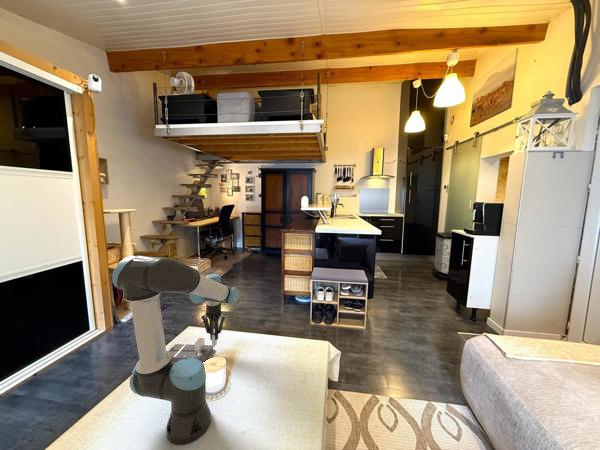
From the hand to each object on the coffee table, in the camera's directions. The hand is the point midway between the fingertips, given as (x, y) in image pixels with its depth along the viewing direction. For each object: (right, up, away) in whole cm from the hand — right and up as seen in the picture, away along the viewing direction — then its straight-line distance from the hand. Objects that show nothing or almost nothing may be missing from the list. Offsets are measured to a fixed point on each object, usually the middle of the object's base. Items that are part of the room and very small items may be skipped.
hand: (214, 345), depth 131 cm
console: (-14, -6, +1) cm, 15 cm away
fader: (-8, -3, 0) cm, 9 cm away
